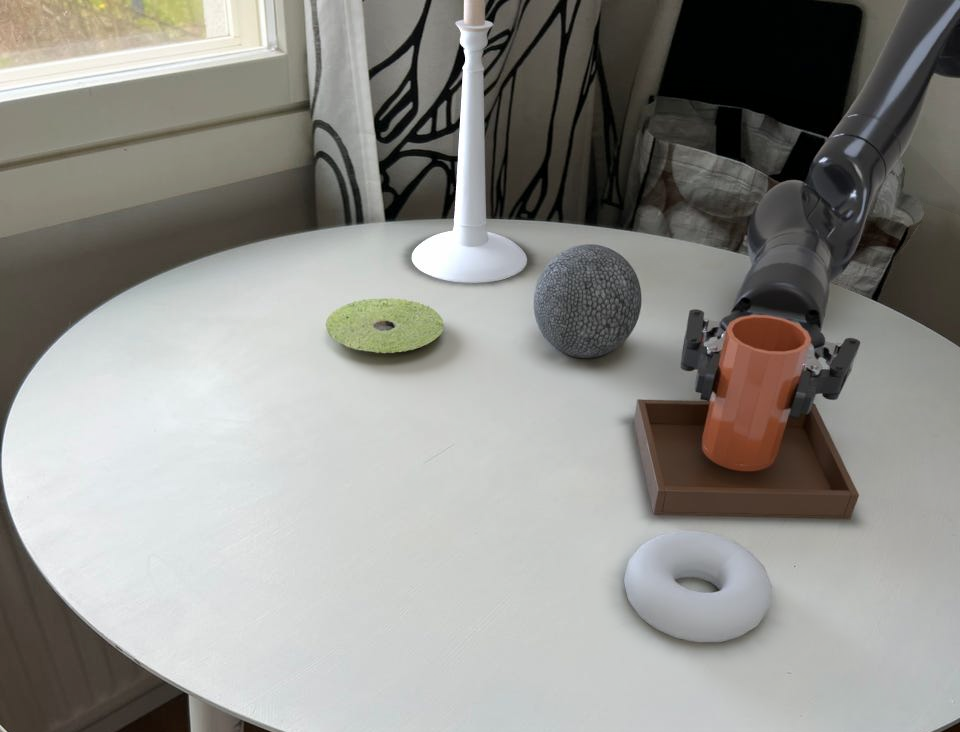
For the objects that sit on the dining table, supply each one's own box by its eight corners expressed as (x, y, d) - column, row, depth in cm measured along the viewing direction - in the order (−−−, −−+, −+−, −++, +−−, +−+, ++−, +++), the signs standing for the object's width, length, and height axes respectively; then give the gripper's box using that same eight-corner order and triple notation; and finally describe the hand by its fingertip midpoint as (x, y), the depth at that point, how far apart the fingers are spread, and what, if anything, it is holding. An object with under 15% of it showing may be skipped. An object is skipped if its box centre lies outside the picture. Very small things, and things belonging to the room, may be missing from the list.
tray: (806, 432, 83) (815, 403, 81) (848, 524, 73) (859, 495, 71) (632, 427, 82) (637, 398, 80) (652, 520, 73) (658, 490, 71)
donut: (592, 605, 66) (715, 676, 61) (597, 567, 64) (725, 637, 59) (673, 541, 71) (792, 601, 67) (681, 503, 69) (805, 563, 64)
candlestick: (538, 284, 102) (562, -57, 81) (420, 290, 100) (414, -58, 79) (513, 237, 111) (529, -81, 90) (404, 242, 109) (396, -82, 88)
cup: (767, 430, 79) (799, 315, 72) (784, 472, 74) (819, 354, 67) (695, 428, 78) (720, 313, 71) (708, 470, 74) (735, 352, 67)
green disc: (344, 310, 97) (343, 291, 95) (453, 321, 96) (453, 303, 94) (313, 363, 89) (311, 344, 87) (431, 376, 88) (431, 357, 86)
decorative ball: (580, 389, 87) (593, 282, 80) (508, 347, 92) (514, 243, 85) (654, 356, 92) (672, 253, 85) (582, 318, 97) (593, 218, 90)
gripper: (706, 247, 81) (664, 333, 69) (881, 276, 78) (867, 372, 66) (690, 330, 86) (649, 422, 75) (853, 360, 83) (835, 462, 72)
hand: (751, 398), depth 71 cm, fingers closed on cup, 6 cm apart
